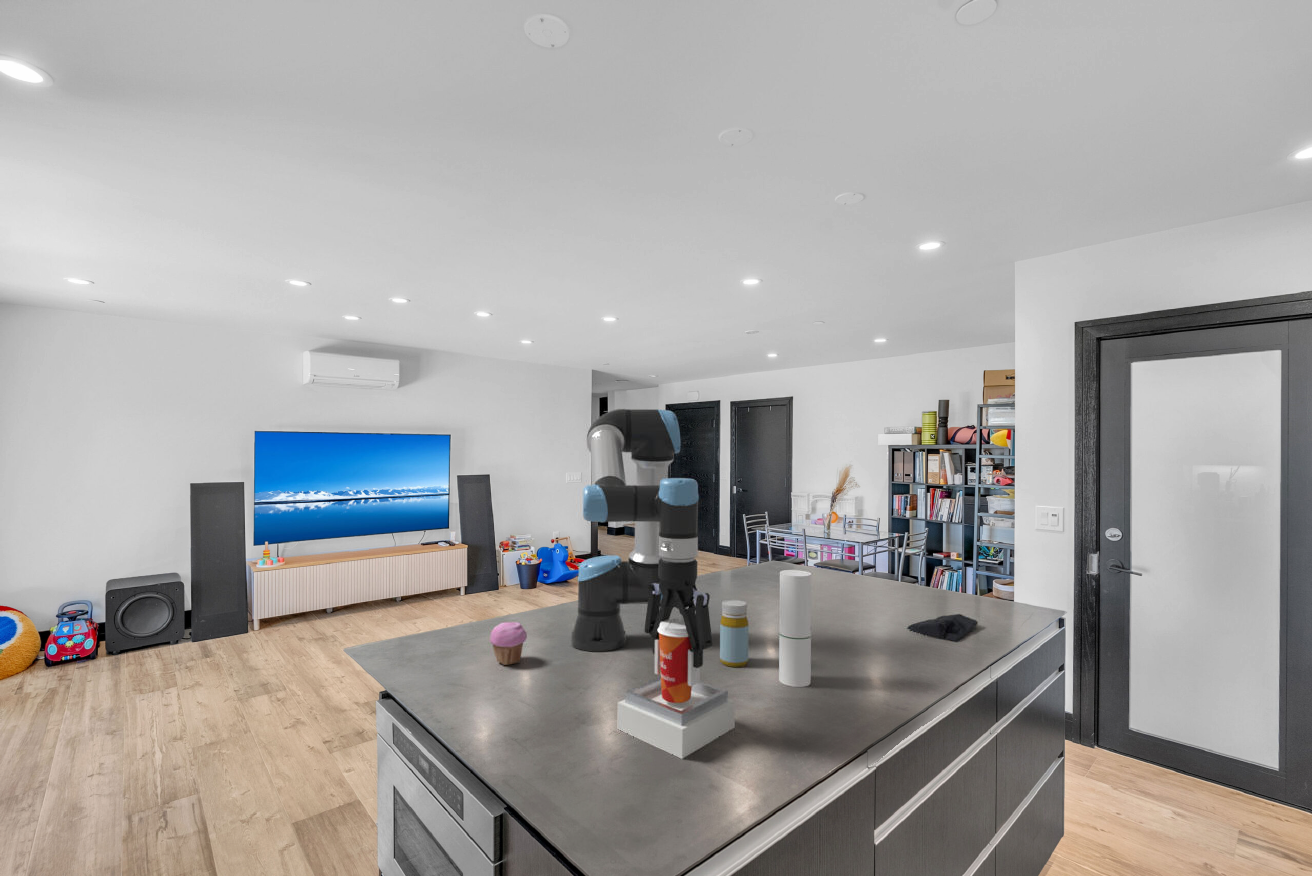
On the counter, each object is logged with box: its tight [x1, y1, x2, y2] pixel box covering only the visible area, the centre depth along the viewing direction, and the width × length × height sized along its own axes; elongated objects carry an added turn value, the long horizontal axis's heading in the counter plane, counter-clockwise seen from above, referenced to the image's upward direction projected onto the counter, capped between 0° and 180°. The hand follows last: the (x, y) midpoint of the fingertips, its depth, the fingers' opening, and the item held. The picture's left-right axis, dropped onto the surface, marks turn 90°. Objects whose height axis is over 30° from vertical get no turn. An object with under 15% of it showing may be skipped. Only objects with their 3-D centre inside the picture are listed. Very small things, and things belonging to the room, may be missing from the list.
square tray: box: [616, 676, 736, 760], centre depth 114 cm, size 16×16×7 cm
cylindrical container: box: [778, 569, 812, 688], centre depth 138 cm, size 7×7×25 cm
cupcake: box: [489, 621, 528, 666], centre depth 147 cm, size 9×9×10 cm
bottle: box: [719, 599, 749, 668], centre depth 149 cm, size 7×7×15 cm
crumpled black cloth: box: [906, 613, 978, 642], centre depth 179 cm, size 15×22×5 cm
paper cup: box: [657, 618, 692, 703], centre depth 114 cm, size 8×8×14 cm
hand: (676, 677), depth 114 cm, fingers closed on paper cup, 8 cm apart
